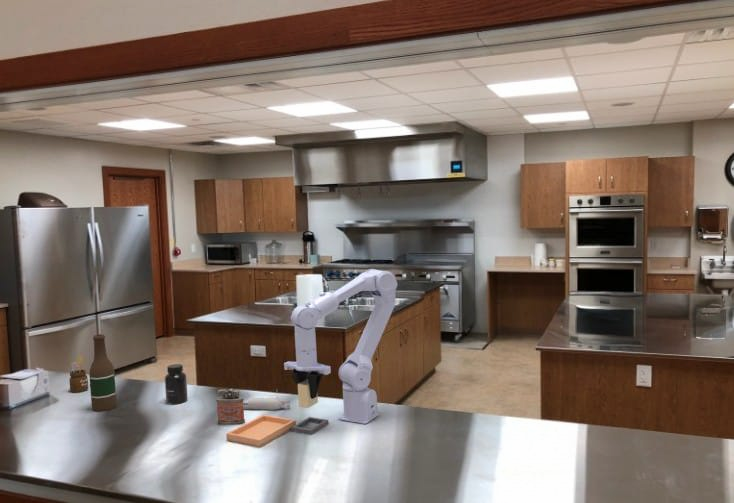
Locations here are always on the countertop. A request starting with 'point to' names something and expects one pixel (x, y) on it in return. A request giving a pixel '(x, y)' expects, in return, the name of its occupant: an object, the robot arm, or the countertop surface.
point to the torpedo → (265, 404)
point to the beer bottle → (102, 378)
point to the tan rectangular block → (305, 395)
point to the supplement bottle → (175, 384)
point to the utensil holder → (78, 379)
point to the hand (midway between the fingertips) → (308, 396)
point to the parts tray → (260, 430)
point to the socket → (311, 431)
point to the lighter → (230, 408)
